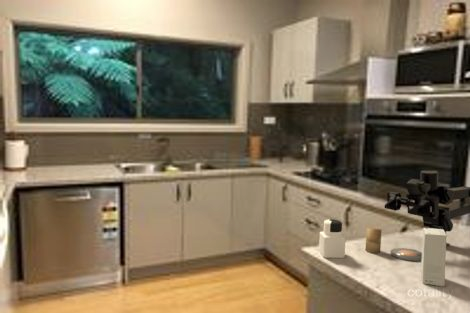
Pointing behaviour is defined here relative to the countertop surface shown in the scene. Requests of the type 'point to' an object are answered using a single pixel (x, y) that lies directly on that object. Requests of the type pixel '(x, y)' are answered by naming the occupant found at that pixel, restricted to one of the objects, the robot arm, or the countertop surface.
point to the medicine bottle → (332, 240)
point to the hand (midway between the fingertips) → (396, 209)
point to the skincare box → (433, 256)
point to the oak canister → (373, 240)
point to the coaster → (406, 254)
